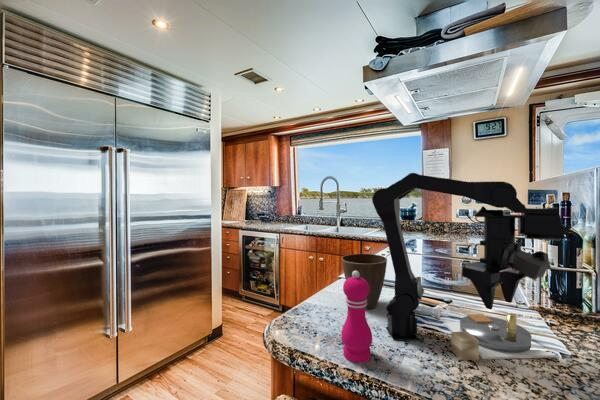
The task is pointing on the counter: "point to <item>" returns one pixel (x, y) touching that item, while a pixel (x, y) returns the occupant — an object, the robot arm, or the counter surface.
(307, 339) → the counter surface
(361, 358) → the pepper mill
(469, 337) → the link block
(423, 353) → the counter surface
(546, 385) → the counter surface
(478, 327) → the crank wheel
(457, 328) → the base board
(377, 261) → the plant pot
